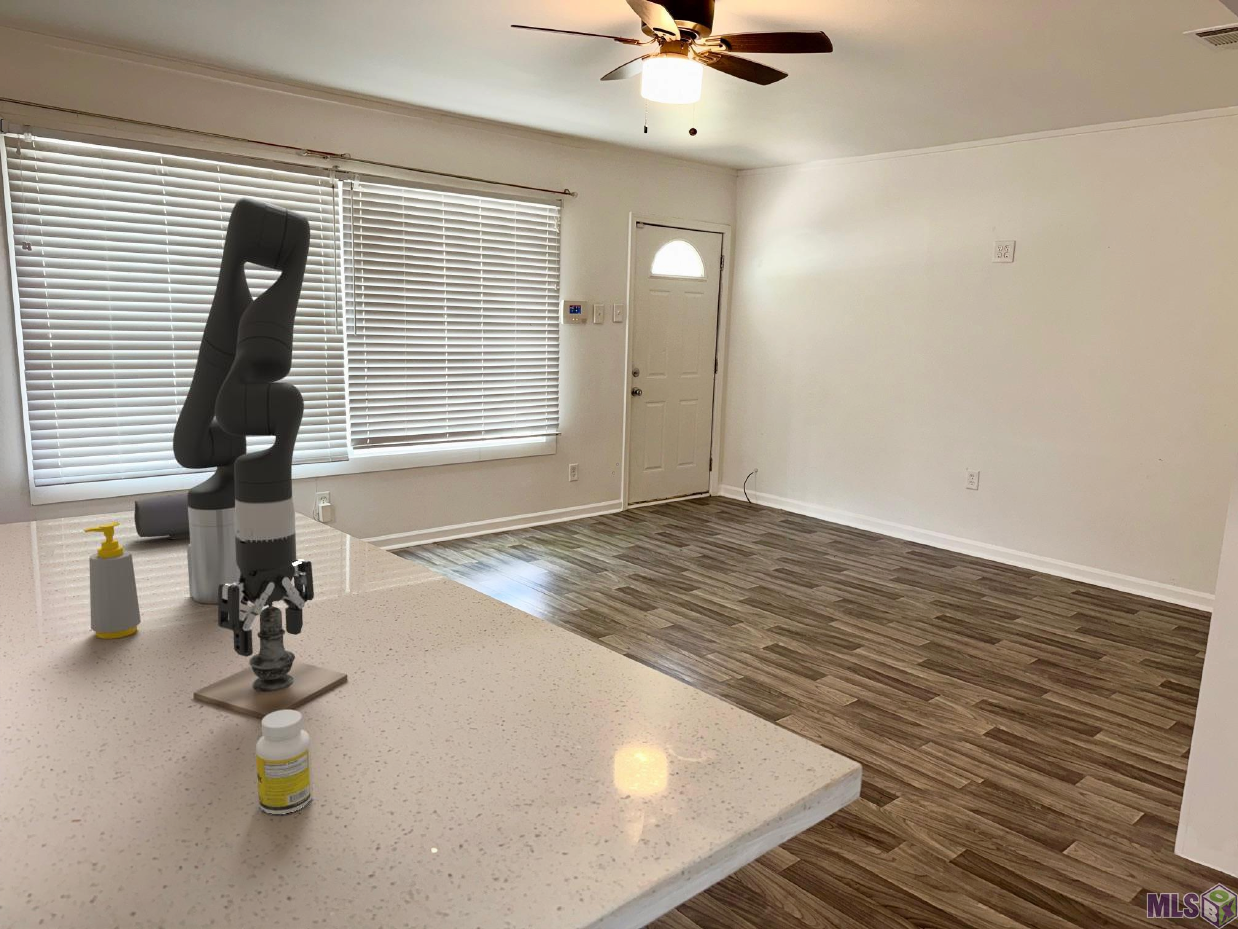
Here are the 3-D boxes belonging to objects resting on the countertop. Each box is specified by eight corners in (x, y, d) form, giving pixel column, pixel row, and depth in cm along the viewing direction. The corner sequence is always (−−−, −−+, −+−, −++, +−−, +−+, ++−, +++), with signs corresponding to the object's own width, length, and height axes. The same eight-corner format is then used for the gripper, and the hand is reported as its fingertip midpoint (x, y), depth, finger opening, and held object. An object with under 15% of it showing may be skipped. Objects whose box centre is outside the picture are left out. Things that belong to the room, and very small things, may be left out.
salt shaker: (303, 675, 116) (301, 595, 114) (282, 694, 111) (279, 610, 108) (264, 672, 117) (261, 592, 115) (241, 690, 111) (237, 607, 109)
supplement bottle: (268, 788, 90) (264, 706, 89) (318, 787, 91) (316, 705, 89) (250, 817, 85) (246, 731, 83) (304, 816, 86) (301, 730, 84)
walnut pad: (193, 698, 110) (193, 692, 110) (275, 660, 123) (274, 655, 123) (270, 721, 105) (270, 716, 105) (347, 679, 117) (347, 674, 117)
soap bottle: (81, 635, 130) (72, 525, 126) (125, 621, 136) (117, 516, 133) (107, 644, 126) (98, 532, 123) (150, 629, 133) (143, 523, 129)
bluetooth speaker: (241, 524, 199) (240, 484, 197) (253, 532, 192) (251, 491, 190) (135, 537, 184) (132, 494, 182) (143, 547, 177) (140, 502, 175)
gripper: (285, 515, 118) (289, 622, 120) (199, 538, 105) (206, 656, 108) (325, 522, 115) (328, 631, 118) (242, 547, 102) (247, 668, 105)
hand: (270, 643), depth 113 cm, fingers open, 8 cm apart
